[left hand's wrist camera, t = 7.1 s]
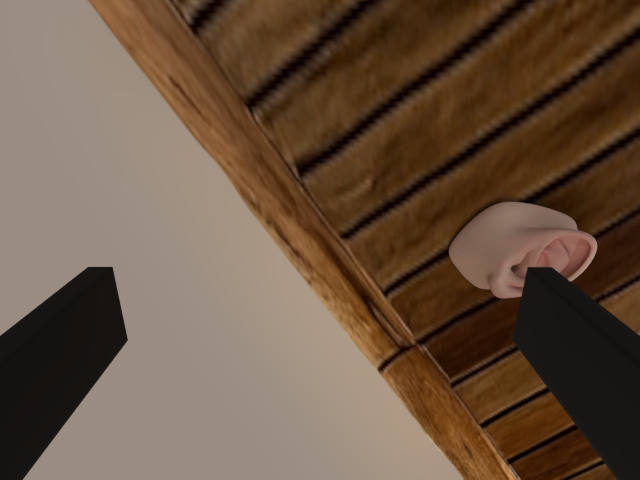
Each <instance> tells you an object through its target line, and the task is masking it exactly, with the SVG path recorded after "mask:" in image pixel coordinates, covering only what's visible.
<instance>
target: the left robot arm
mask: <svg viewBox="0 0 640 480" xmlns="http://www.w3.org/2000/svg"><path fill="white" fill-rule="evenodd" d="M127 341H128V339H127V334H126V329H125V325H124V320H123V315H122V310H121V305H120V301H119V296H118V291H117V286H116V282H115V277H114V272H113V267H88V268H86V269H85V270H84V271H83V272H81V273H80V274H79V275H77V276H76V277H75V278H74V279H72V280H71V281H70V282H68V283H67V284H66V285H65V286H63V287H62V288H61V289H60V290H58V291H57V292H56V293H54V294H53V295H52V296H51V297H49V298H48V299H47V300H45V301H44V302H43V303H42V304H40V305H39V306H38V307H37V308H35V309H34V310H33V311H32V312H30V313H29V314H28V315H26V316H25V317H24V318H23V319H21V320H20V321H19V322H17V323H16V324H15V325H14V326H12V327H11V328H10V329H9V330H7V331H6V332H5V333H3V334H2V335H1V336H0V480H23V479H24V477H25V476H26V475H27V473H28V472H29V471H30V469H31V468H32V467H33V465H34V464H35V463H36V461H37V460H38V459H39V457H40V456H41V455H42V453H43V452H44V451H45V449H46V448H47V447H48V445H49V444H50V443H51V441H52V440H53V439H54V437H55V436H56V435H57V433H58V432H59V431H60V429H61V428H62V427H63V425H64V424H65V423H66V422H67V420H68V419H69V418H70V416H71V415H72V414H73V412H74V411H75V410H76V408H77V407H78V406H79V404H80V403H81V402H82V400H83V399H84V398H85V396H86V395H87V394H88V392H89V391H90V390H91V388H92V387H93V386H94V384H95V383H96V382H97V380H98V379H99V378H100V376H101V375H102V374H103V372H104V371H105V370H106V368H107V367H108V366H109V364H110V363H111V362H112V361H113V359H114V358H115V356H116V355H117V354H118V352H119V351H120V350H121V349H122V347H123V346H124V345H125V343H126V342H127ZM512 341H513V342H514V343H515V345H516V346H517V347H518V349H519V350H520V351H521V353H522V354H523V355H524V357H525V358H526V359H527V361H528V362H529V363H530V364H531V366H532V367H533V368H534V370H535V371H536V372H537V374H538V375H539V376H540V378H541V379H542V380H543V382H544V383H545V384H546V386H547V387H548V388H549V390H550V391H551V392H552V394H553V395H554V396H555V398H556V399H557V400H558V402H559V403H560V404H561V406H562V407H563V408H564V410H565V411H566V412H567V414H568V415H569V416H570V418H571V419H572V420H573V422H574V423H575V424H576V425H577V427H578V428H579V429H580V431H581V432H582V433H583V435H584V436H585V437H586V439H587V440H588V441H589V443H590V444H591V445H592V447H593V448H594V449H595V451H596V452H597V453H598V455H599V456H600V457H601V459H602V460H603V461H604V463H605V464H606V465H607V467H608V468H609V469H610V471H611V472H612V473H613V475H614V476H615V477H616V479H617V480H640V336H639V335H638V334H637V333H635V332H634V331H633V330H632V329H630V328H629V327H628V326H626V325H625V324H624V323H623V322H621V321H620V320H619V319H617V318H616V317H615V316H614V315H612V314H611V313H610V312H609V311H607V310H606V309H605V308H603V307H602V306H601V305H600V304H598V303H597V302H596V301H595V300H593V299H592V298H591V297H589V296H588V295H587V294H586V293H584V292H583V291H582V290H580V289H579V288H578V287H577V286H575V285H574V284H573V283H572V282H570V281H569V280H568V279H566V278H565V277H564V276H563V275H561V274H560V273H559V272H558V271H556V270H555V269H554V268H552V267H527V272H526V277H525V282H524V286H523V291H522V296H521V301H520V305H519V310H518V315H517V320H516V325H515V329H514V334H513V339H512Z"/></svg>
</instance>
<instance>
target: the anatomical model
mask: <svg viewBox="0 0 640 480" xmlns="http://www.w3.org/2000/svg"><path fill="white" fill-rule="evenodd" d="M596 250H597V242H596V240H595V239H594V238H593V237H592V236H591V235H589V234H587V233H585V232H582V231H579V230H577V225H576V223H575V221H574V220H573V219H572V218H571V217H569V216H567V215H565V214H563V213H561V212H558V211H555V210H552V209H549V208H546V207H542V206H538V205H533V204H528V203H522V202H502V203H498V204H495V205H493V206H491V207H489V208H487V209H485V210H484V211H482V212H481V213H479V214H478V215H477V216H476V217H474V218H473V219H472V220H471V221H470V222H469V223H468V224H467V225H466V226H465V227H464V228H463V229H462V230H461V231H460V232H459V233H458V235H457V236H456V237H455V239H454V240H453V242H452V243H451V245H450V248H449V256H450V258H451V260H452V262H453V263H454V265H455V266H456V267H457V269H458V270H459V271H460V272H461V274H462V275H463V276H464V277H465V278H466V279H467V280H468V281H470V282H471V283H472V284H473V285H475V286H476V287H478V288H481V289H491V291H492V293H493V294H494V295H495V296H496V297H498V298H512V297H521V296H522V291H523V286H524V282H525V277H526V272H527V267H552V268H554V269H555V270H556V271H558V272H559V273H560V274H561V275H563V276H564V277H565V278H566V279H568V280H569V281H570V282H571V281H572V280H574V279H575V278H576V277H578V276H579V275H580V274H581V273H582V272H583V271H584V270H585V269H586V268H587V267H588V265H589V264H590V262H591V261H592V259H593V258H594V255H595V253H596Z"/></svg>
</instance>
